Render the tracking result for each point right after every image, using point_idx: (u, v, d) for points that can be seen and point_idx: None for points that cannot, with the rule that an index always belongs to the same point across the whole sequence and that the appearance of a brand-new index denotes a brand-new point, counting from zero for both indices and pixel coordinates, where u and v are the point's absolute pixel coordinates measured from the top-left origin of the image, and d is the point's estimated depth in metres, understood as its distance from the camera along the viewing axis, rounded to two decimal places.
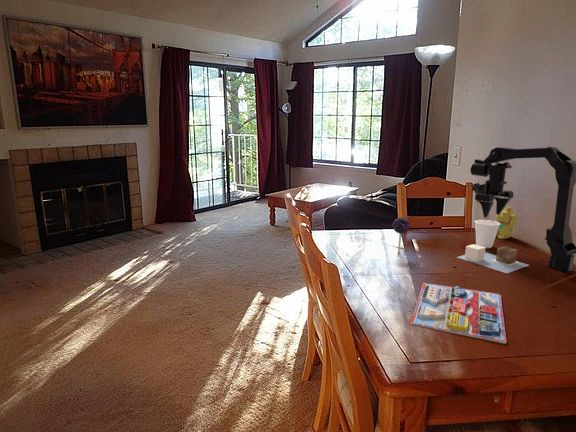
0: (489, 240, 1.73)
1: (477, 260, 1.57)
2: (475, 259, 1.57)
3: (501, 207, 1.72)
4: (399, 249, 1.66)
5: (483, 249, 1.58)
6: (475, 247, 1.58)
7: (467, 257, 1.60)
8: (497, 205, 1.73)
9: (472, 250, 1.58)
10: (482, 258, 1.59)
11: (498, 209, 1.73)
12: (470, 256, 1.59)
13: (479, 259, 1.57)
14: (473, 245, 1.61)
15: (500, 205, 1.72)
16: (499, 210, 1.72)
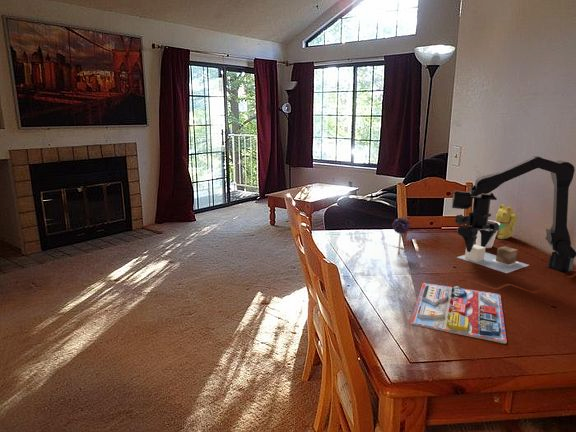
0: (489, 240, 1.73)
1: (477, 260, 1.57)
2: (475, 259, 1.57)
3: (486, 240, 1.60)
4: (399, 249, 1.66)
5: (483, 249, 1.58)
6: (475, 247, 1.58)
7: (467, 257, 1.60)
8: (482, 238, 1.61)
9: (472, 250, 1.58)
10: (482, 258, 1.59)
11: (483, 242, 1.61)
12: (470, 256, 1.59)
13: (479, 259, 1.57)
14: (473, 245, 1.61)
15: (485, 238, 1.61)
16: (484, 243, 1.61)
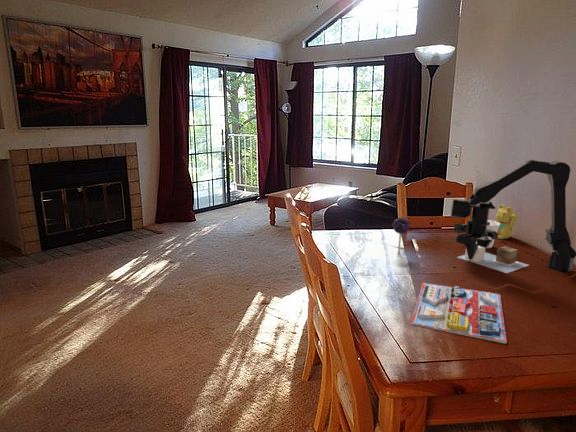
0: None
1: (477, 260, 1.57)
2: (475, 259, 1.57)
3: None
4: (399, 249, 1.66)
5: (483, 249, 1.58)
6: None
7: (467, 257, 1.60)
8: None
9: None
10: (482, 258, 1.59)
11: None
12: None
13: (479, 259, 1.57)
14: None
15: None
16: None
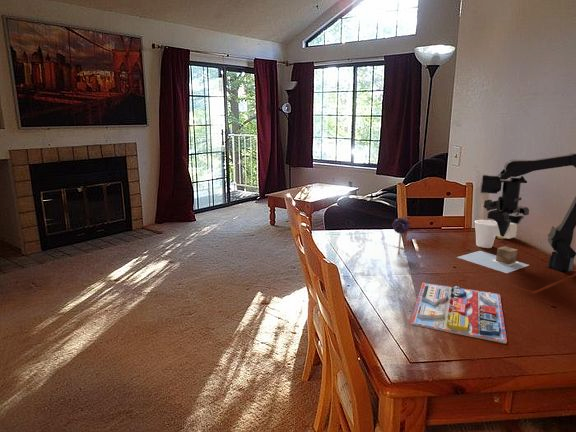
0: (489, 240, 1.73)
1: (509, 237, 1.53)
2: (507, 236, 1.53)
3: None
4: (399, 249, 1.66)
5: (515, 225, 1.54)
6: None
7: (498, 234, 1.55)
8: None
9: None
10: (514, 235, 1.54)
11: None
12: None
13: (511, 236, 1.53)
14: None
15: None
16: None
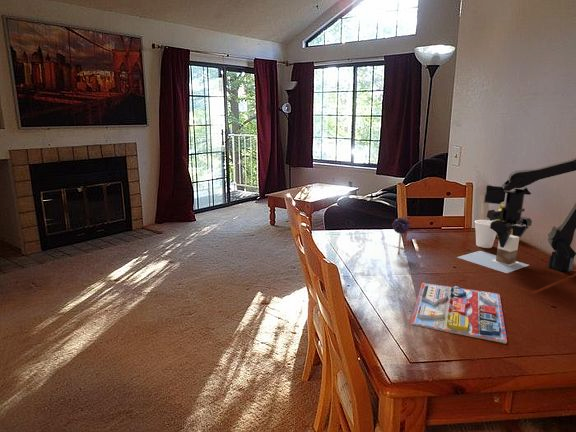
0: (489, 240, 1.73)
1: (511, 250, 1.54)
2: (509, 249, 1.54)
3: (518, 236, 1.57)
4: (399, 249, 1.66)
5: (517, 238, 1.55)
6: (509, 236, 1.55)
7: (500, 247, 1.56)
8: (513, 233, 1.59)
9: None
10: (516, 248, 1.55)
11: None
12: None
13: (513, 249, 1.54)
14: None
15: (517, 233, 1.58)
16: None
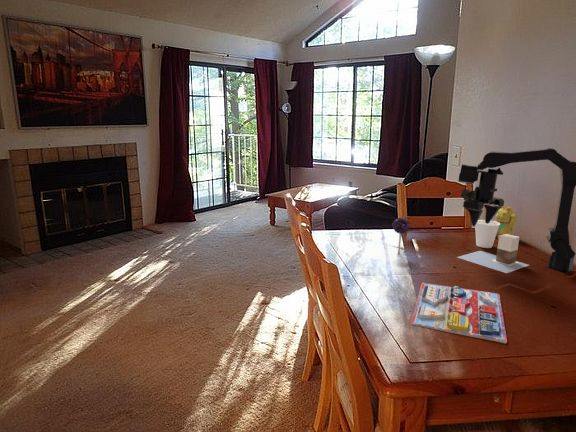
0: (489, 240, 1.73)
1: (511, 250, 1.54)
2: (509, 249, 1.54)
3: (491, 215, 1.61)
4: (399, 249, 1.66)
5: (517, 238, 1.55)
6: (509, 236, 1.55)
7: (500, 247, 1.56)
8: (486, 213, 1.63)
9: (505, 239, 1.54)
10: (516, 248, 1.55)
11: (487, 217, 1.62)
12: (503, 246, 1.55)
13: (513, 249, 1.54)
14: (506, 235, 1.57)
15: (490, 213, 1.62)
16: (488, 219, 1.62)
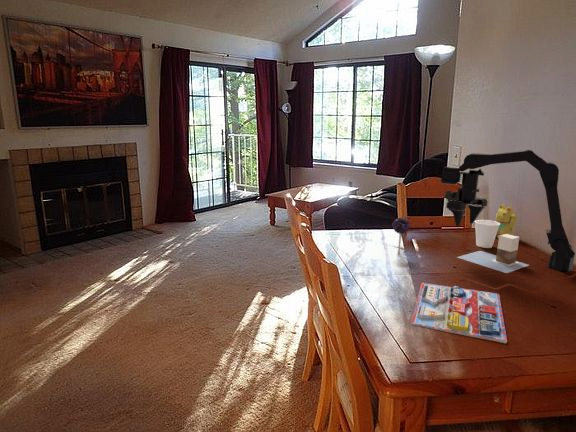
0: (489, 240, 1.73)
1: (511, 250, 1.54)
2: (509, 249, 1.54)
3: (474, 216, 1.65)
4: (399, 249, 1.66)
5: (517, 238, 1.55)
6: (509, 236, 1.55)
7: (500, 247, 1.56)
8: (470, 213, 1.66)
9: (505, 239, 1.54)
10: (516, 248, 1.55)
11: (471, 218, 1.66)
12: (503, 246, 1.55)
13: (513, 249, 1.54)
14: (506, 235, 1.57)
15: (473, 213, 1.65)
16: (472, 219, 1.66)
